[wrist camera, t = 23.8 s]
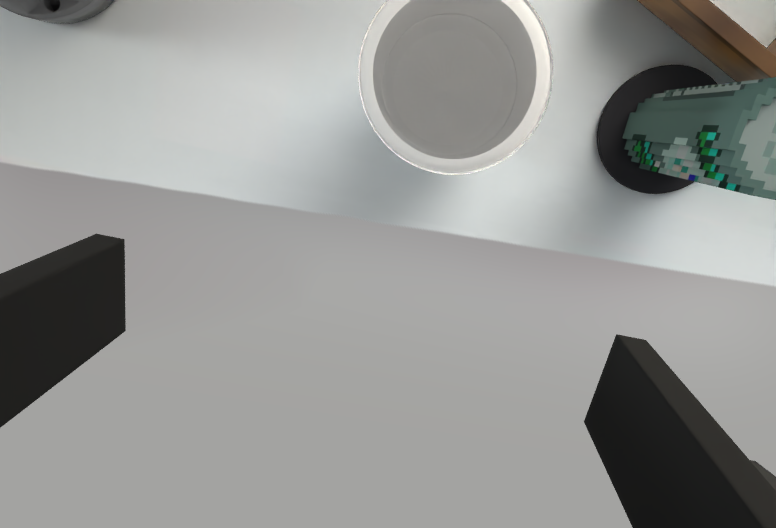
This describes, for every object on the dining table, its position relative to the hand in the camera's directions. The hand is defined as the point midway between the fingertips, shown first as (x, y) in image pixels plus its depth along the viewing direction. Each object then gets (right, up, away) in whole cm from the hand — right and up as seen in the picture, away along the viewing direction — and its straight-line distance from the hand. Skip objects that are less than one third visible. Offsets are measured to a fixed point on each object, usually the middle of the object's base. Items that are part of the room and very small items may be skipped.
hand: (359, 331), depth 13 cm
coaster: (+23, +13, +27) cm, 38 cm away
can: (+23, +12, +26) cm, 37 cm away
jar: (+6, +16, +28) cm, 33 cm away
